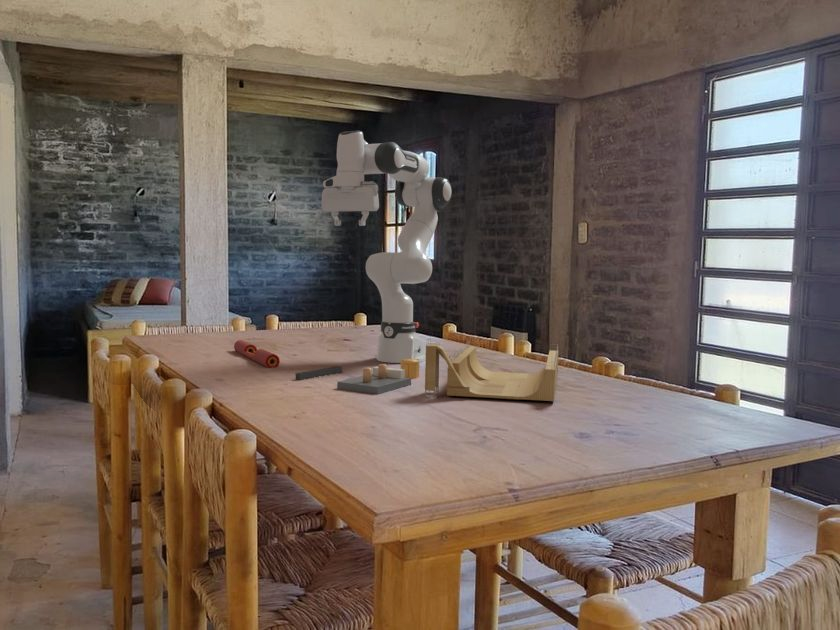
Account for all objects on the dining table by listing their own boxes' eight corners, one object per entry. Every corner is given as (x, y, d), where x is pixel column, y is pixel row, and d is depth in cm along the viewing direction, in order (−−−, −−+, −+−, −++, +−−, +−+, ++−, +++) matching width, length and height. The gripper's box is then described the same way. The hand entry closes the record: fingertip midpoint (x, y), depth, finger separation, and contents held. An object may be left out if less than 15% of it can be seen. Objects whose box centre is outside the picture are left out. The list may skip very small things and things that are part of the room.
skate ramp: (554, 404, 198) (556, 345, 197) (424, 397, 206) (426, 339, 204) (557, 380, 237) (559, 330, 236) (448, 374, 245) (449, 325, 243)
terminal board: (372, 379, 228) (372, 360, 228) (410, 384, 222) (411, 364, 221) (337, 388, 213) (337, 368, 212) (377, 394, 206) (378, 372, 205)
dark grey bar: (300, 371, 225) (290, 370, 227) (300, 380, 225) (290, 379, 227) (342, 365, 240) (332, 364, 242) (342, 373, 240) (332, 372, 242)
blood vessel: (233, 353, 283) (233, 340, 282) (246, 352, 285) (246, 339, 285) (265, 369, 246) (265, 354, 246) (279, 368, 248) (279, 353, 248)
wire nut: (406, 375, 238) (407, 358, 238) (422, 377, 236) (422, 359, 235) (397, 377, 233) (397, 360, 233) (412, 379, 231) (413, 362, 230)
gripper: (383, 182, 233) (382, 226, 234) (330, 183, 243) (330, 225, 244) (372, 180, 228) (371, 225, 229) (318, 181, 238) (318, 225, 239)
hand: (349, 225), depth 237 cm, fingers open, 8 cm apart
